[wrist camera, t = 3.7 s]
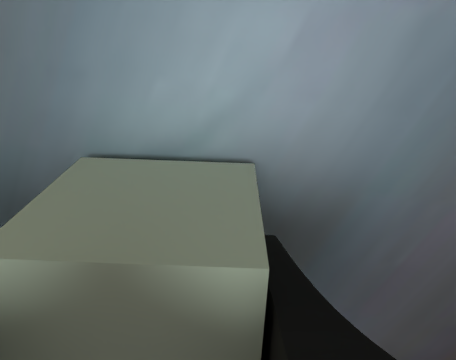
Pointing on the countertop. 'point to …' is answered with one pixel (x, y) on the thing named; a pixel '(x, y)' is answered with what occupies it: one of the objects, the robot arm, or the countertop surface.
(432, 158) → the countertop surface
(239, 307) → the green cube
